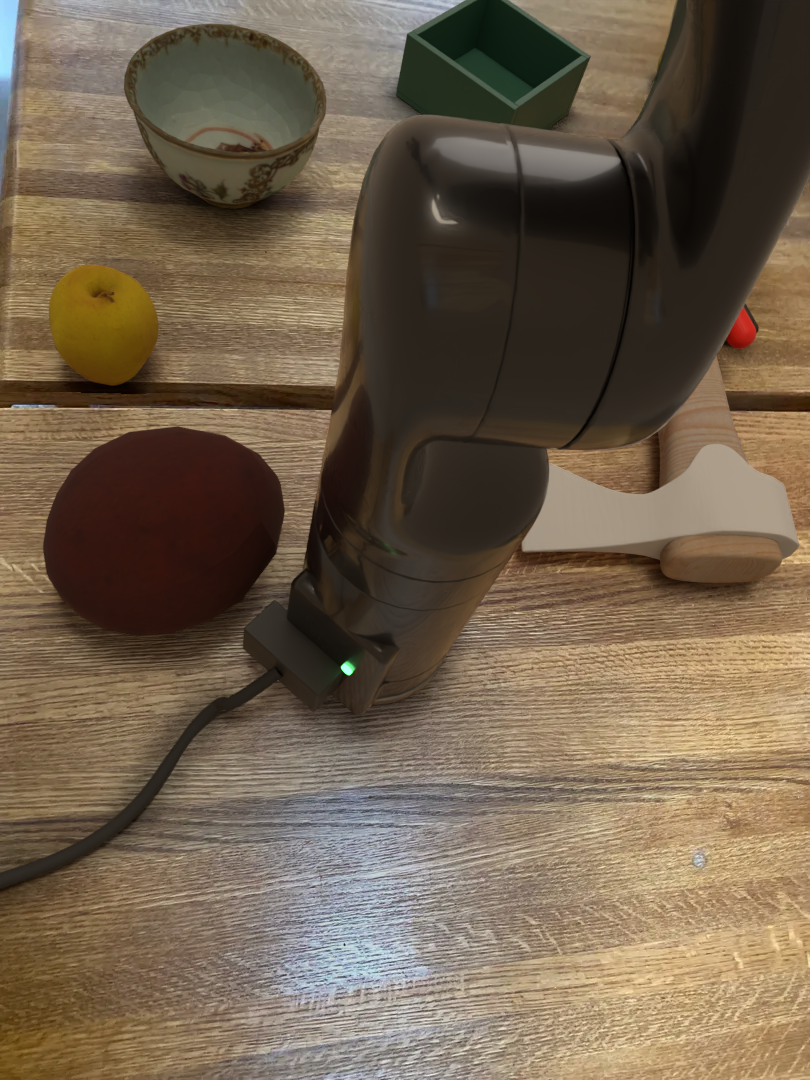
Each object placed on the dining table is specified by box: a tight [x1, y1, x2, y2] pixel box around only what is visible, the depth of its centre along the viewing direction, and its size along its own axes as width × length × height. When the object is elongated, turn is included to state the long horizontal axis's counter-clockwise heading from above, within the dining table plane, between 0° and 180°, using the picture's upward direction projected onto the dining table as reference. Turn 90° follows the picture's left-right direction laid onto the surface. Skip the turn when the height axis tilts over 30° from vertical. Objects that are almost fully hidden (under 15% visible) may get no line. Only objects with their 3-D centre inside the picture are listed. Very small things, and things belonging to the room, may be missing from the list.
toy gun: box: [725, 302, 760, 350], centre depth 63 cm, size 10×12×5 cm
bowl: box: [123, 23, 327, 210], centre depth 62 cm, size 14×13×8 cm
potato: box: [42, 425, 286, 637], centre depth 46 cm, size 11×13×10 cm
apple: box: [48, 264, 160, 386], centre depth 53 cm, size 6×6×8 cm
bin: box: [395, 0, 591, 130], centre depth 73 cm, size 11×11×6 cm
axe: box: [521, 355, 800, 584], centre depth 61 cm, size 18×5×30 cm
